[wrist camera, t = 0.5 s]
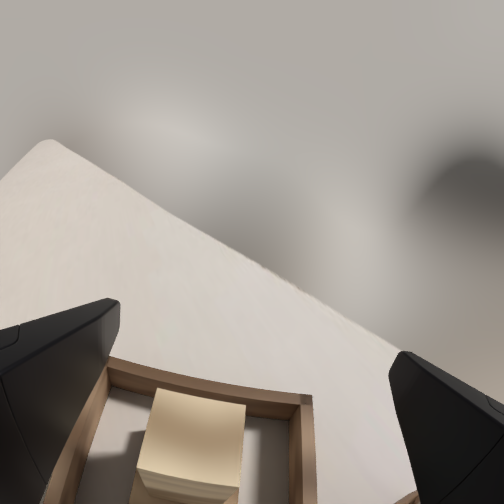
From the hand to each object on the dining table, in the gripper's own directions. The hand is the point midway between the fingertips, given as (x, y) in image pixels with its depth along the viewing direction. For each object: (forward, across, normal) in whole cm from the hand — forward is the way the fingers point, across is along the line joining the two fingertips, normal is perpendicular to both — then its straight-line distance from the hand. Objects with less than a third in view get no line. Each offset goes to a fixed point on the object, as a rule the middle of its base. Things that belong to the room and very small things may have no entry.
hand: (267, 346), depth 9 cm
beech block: (+4, +1, +15) cm, 15 cm away
